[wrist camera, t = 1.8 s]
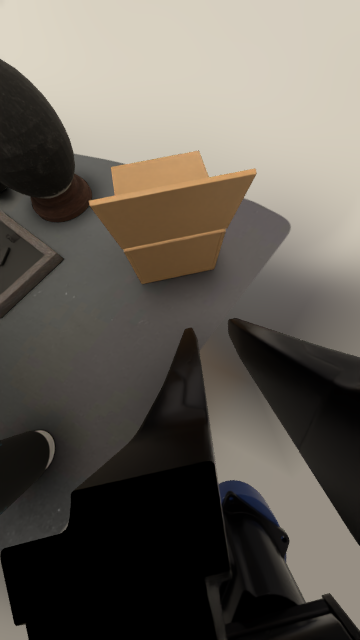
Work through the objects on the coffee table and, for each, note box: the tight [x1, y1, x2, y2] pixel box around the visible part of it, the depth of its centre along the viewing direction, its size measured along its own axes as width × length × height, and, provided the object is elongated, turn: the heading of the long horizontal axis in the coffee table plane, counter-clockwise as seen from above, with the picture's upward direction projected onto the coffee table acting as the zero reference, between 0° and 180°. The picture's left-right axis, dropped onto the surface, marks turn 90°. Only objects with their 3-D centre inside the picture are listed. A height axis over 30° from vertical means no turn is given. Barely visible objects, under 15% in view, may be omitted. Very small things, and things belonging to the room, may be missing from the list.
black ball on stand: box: [0, 59, 92, 222], centre depth 23 cm, size 13×13×15 cm
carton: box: [111, 151, 226, 284], centre depth 23 cm, size 13×12×8 cm
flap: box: [89, 169, 256, 249], centre depth 14 cm, size 6×12×1 cm
